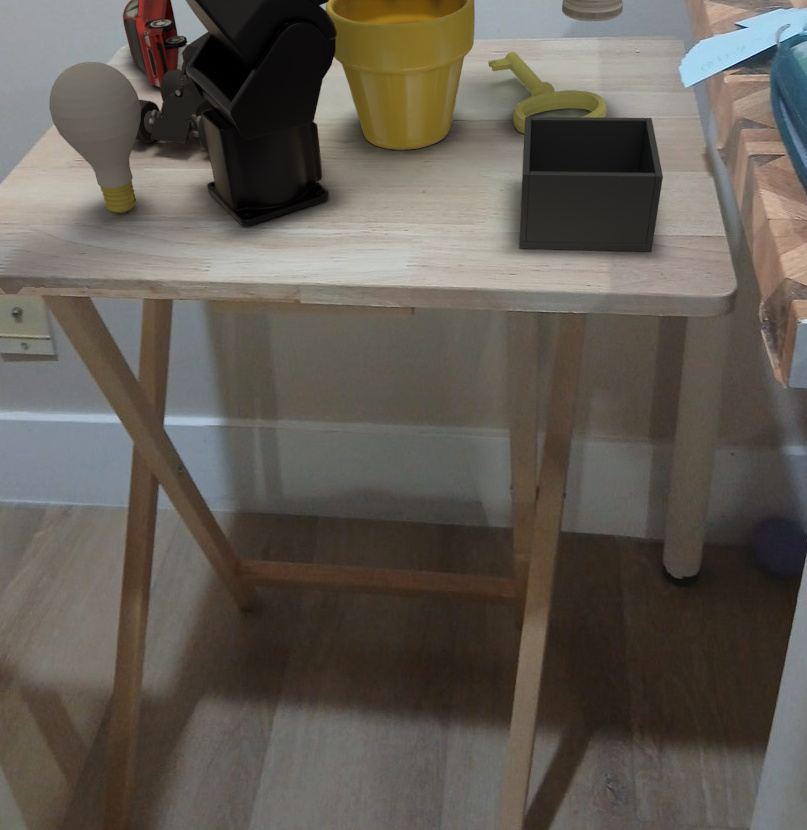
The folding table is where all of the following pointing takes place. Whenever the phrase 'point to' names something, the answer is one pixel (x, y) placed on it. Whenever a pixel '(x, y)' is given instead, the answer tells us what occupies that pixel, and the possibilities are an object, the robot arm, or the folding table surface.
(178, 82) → the toy vehicle
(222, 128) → the robot arm
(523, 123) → the key
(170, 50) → the toy car
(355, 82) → the flower pot
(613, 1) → the chess piece
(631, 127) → the bin
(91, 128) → the light bulb
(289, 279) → the folding table surface
